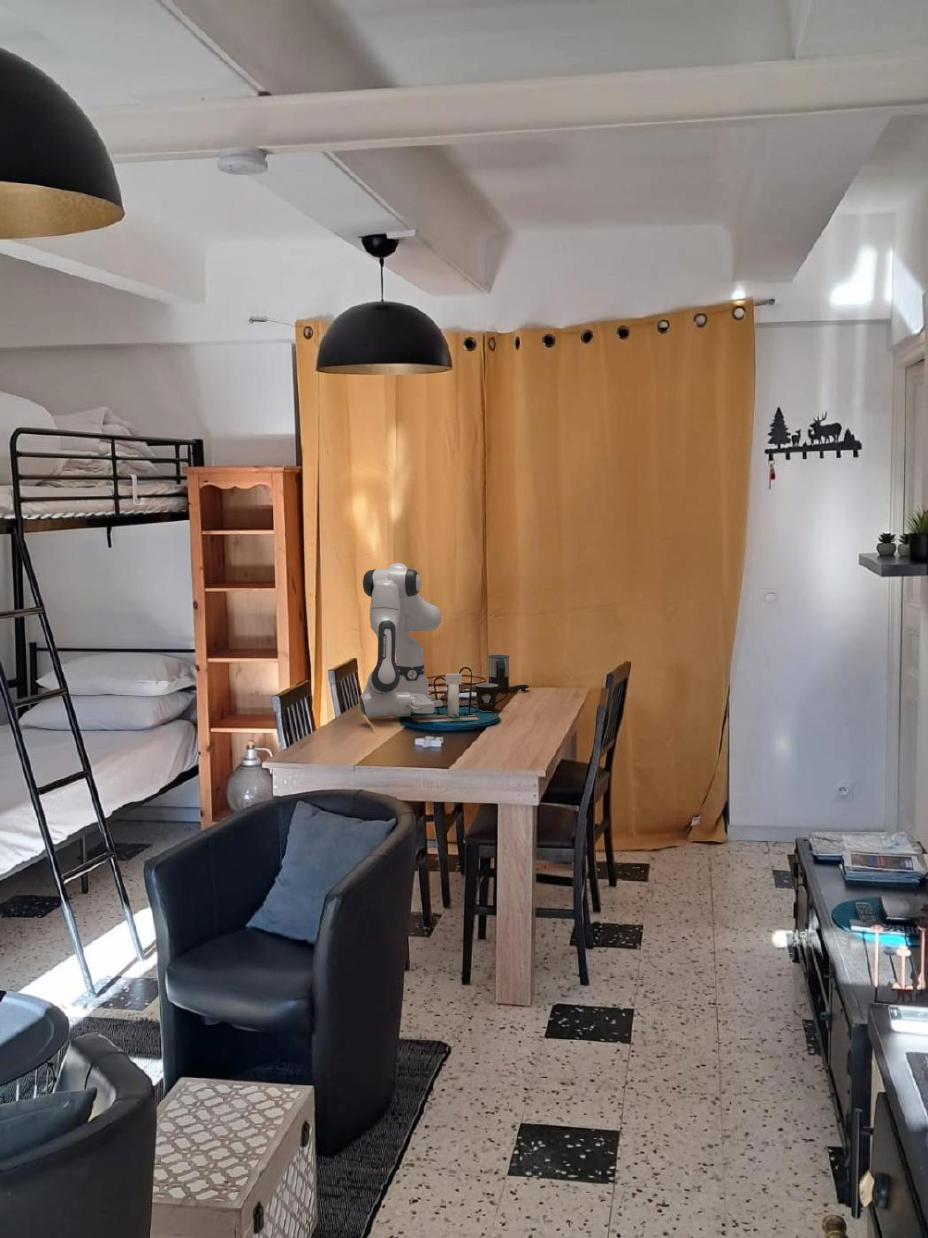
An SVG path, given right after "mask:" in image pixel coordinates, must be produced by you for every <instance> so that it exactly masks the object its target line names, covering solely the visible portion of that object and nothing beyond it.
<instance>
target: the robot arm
mask: <svg viewBox="0 0 928 1238" xmlns="http://www.w3.org/2000/svg"><path fill="white" fill-rule="evenodd" d="M421 585H422V581H421V576H420V573H419V572H418V571H417V570H416V569H413V568H408V567H407V566H406V565H405V564H404V563H401V562H396V563H392V564H390V565H389V566H388V567H387V568H380V569H375V568H374V569H370V570H367V571H366V572H365V573H364V576H363V579H362V588H363V592H364V593H365V594H366V596H368V597H370V604H369V605H370V606H369V623H370V628H371V630H372V631H373V633H375V635H376V638H377V659H376V660H377V661H376V664H375V667H374V669H373V670H372V671H371V672H370V674H369V675H368V677H367V681H366V685H365V688H364V689H363V691H362V694H360V696H359V706H360V710H361V713H362V714H363V715H364V716H366V717H369V718H387V717H395V718H397V717H398V718H399V717H411V716H412V715H411V714H412V713H415V714H433V713H435V709H436V708H437V707H442V706H443V705H444V702H443V701H442V700H441V699H433V695H431V694H430V693H429V680H428V679H429V678H428V677H426V676H425V665H424V647H423V645H422V643H421V642H420V641H418V640H417V639H415V638H414V637H412V636H411V634H410V632H430V631H434V630H437V629H438V628H439V627H440V625H441V622H442V612H441V611H440V609H439V607H438V606H436V605H435V604H434V605H433V604H432V603H429V602H428V601H426V600H425V599H424V598H423V597H422V596H421V595H420V594H419V593H420V589H421V587H422V586H421Z"/></svg>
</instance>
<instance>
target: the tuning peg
mask: <svg viewBox="0 0 928 1238" xmlns="http://www.w3.org/2000/svg"><path fill="white" fill-rule="evenodd" d="M462 675H463V674H462V673H446V674H445V685H447V715H448V717H459V714H460V685H462V679H463V678H462Z"/></svg>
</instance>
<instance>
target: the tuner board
mask: <svg viewBox="0 0 928 1238" xmlns="http://www.w3.org/2000/svg"><path fill="white" fill-rule="evenodd" d="M472 714H473V715H468V716H460V717H448V716H446V715H447V714H429V715H428V714H427V715H410V717H411V718H412V719H413V720H414V722H415V723H433V722H434V723H435V722H436V723H437V722H457V721H458V722H459V721H460V722H461V721H462V722H464V721H481V720H482V719H481V718H480V717H479V716H477V715H476V714H475V713H472Z"/></svg>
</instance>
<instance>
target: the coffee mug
mask: <svg viewBox="0 0 928 1238" xmlns="http://www.w3.org/2000/svg"><path fill="white" fill-rule="evenodd" d="M497 689H498V685H497V684H490V683H489V682H488V683H487V682H485V683H484V682H482V683H477V684H475V692H476V702H477V710H478V709H479V710H482V711H492V712H491V713H494V712H495V711H496V705H498V704H499V703H501V702H502V701H504V700H505V699H506V698H507V696H508V691H507V690H505V689H499V690H497ZM500 690H504V691H505V696H504V697H503V698H501V699H500V700H498V701H497V698H498V697H497V696H498V694H499V691H500Z"/></svg>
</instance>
